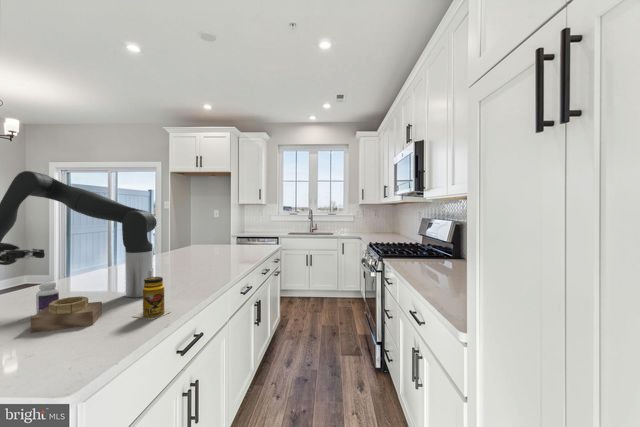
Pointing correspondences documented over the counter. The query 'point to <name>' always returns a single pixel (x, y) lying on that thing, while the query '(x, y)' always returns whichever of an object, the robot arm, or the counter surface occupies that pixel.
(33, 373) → the counter surface
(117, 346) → the counter surface
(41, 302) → the pill bottle
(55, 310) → the wooden bottle holder
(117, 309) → the counter surface
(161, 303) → the condiment
